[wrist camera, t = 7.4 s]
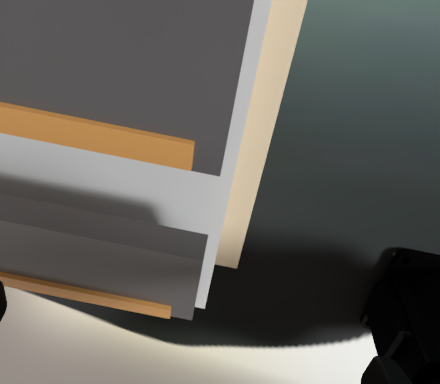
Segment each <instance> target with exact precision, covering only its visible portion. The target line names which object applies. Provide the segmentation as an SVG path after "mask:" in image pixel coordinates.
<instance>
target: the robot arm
mask: <svg viewBox="0 0 440 384" xmlns="http://www.w3.org/2000/svg"><path fill="white" fill-rule="evenodd" d="M405 257H408V258H407V259H404V260H402V259H403V258H405ZM6 308H7V301H6V296H5V291H4V285H3V283H2V281H0V321H1V319H2V317H3V315H4V314H5V311H6ZM364 308H365V310H364V311H363V313H362V315H361V317H360V321H361V324H362V326H363V327H364V328H368V329H371V333H372V336H373V339H374V343H375V347H376V350H377V354H378V356H376V357H374V358H373V359H372V361H371V362H370V364H369V365H368V367H367V368H366V370H365V372H364V373H363V375H362V378H361V384H440V256H436V255H431V254H426V253H421V252H416V251H411V250H400V251H398V252H397V253H396V254H395V256H394V257H393V259H392V261H391V263H390V265H389V266H388V268H387V270H386V272H385V274H384V275H383V277H382V278H381V279H380V280H379V281H378V283H377V284H376V286H375V288H374V290H373V292H372V293H371V295H370V297H369V299H368V301H367V302H366V304H365V306H364Z"/></svg>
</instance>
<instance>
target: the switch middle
mask: <svg viewBox="0 0 440 384" xmlns="http://www.w3.org/2000/svg"><path fill="white" fill-rule="evenodd" d="M253 4H254V0H0V133H3V134H8V135H13V136H18V137H23V138H28V139H33V140H38V141H43V142H48V143H53V144H58V145H63V146H68V147H73V148H78V149H83V150H88V151H93V152H98V153H103V154H108V155H113V156H118V157H123V158H128V159H133V160H138V161H143V162H148V163H153V164H158V165H163V166H168V167H173V168H178V169H183V170H188V171H194V172H199V173H204V174H209V175H214V176H219V177H220V174H221V169H222V165H223V160H224V155H225V150H226V145H227V139H228V134H229V129H230V124H231V119H232V113H233V108H234V103H235V98H236V93H237V87H238V82H239V77H240V72H241V67H242V62H243V56H244V51H245V46H246V41H247V36H248V30H249V25H250V20H251V15H252V10H253Z"/></svg>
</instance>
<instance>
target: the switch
mask: <svg viewBox="0 0 440 384" xmlns="http://www.w3.org/2000/svg"><path fill="white" fill-rule="evenodd" d="M207 239H208V235H207V234H202V233H197V232H192V231H187V230H182V229H177V228H172V227H167V226H162V225H157V224H152V223H147V222H142V221H137V220H132V219H127V218H122V217H117V216H112V215H107V214H102V213H97V212H92V211H87V210H82V209H77V208H72V207H67V206H62V205H58V204H53V203H48V202H43V201H38V200H33V199H28V198H23V197H18V196H13V195H8V194H3V193H0V281H2V283H3V285H4V286H8V287H12V288H17V289H22V290H27V291H32V292H37V293H42V294H47V295H52V296H57V297H62V298H67V299H72V300H77V301H82V302H87V303H92V304H97V305H102V306H107V307H112V308H117V309H122V310H127V311H132V312H137V313H142V314H147V315H152V316H157V317H162V318H167V319H170V316H172V317H177V318H182V319H187V320H192V318H193V313H194V308H195V303H196V298H197V292H198V287H199V282H200V276H201V271H202V266H203V260H204V255H205V250H206V245H207Z"/></svg>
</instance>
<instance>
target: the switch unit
mask: <svg viewBox="0 0 440 384" xmlns="http://www.w3.org/2000/svg"><path fill="white" fill-rule="evenodd" d="M307 1H308V0H254V4H253V10H252V15H251V20H250V25H249V30H248V36H247V41H246V46H245V51H244V56H243V62H242V67H241V72H240V77H239V82H238V87H237V93H236V98H235V103H234V108H233V113H232V119H231V124H230V129H229V134H228V139H227V145H226V150H225V155H224V160H223V165H222V169H221V174H220V177H219V176H214V175H209V174H204V173H199V172H194V171H188V170H183V169H178V168H173V167H168V166H163V165H158V164H153V163H148V162H143V161H138V160H133V159H128V158H123V157H118V156H113V155H108V154H103V153H98V152H93V151H88V150H83V149H78V148H73V147H68V146H63V145H58V144H53V143H48V142H43V141H38V140H33V139H28V138H23V137H18V136H13V135H8V134H3V133H0V193H3V194H8V195H13V196H18V197H23V198H28V199H33V200H38V201H43V202H48V203H53V204H58V205H62V206H67V207H72V208H77V209H82V210H87V211H92V212H97V213H102V214H107V215H112V216H117V217H122V218H127V219H132V220H137V221H142V222H147V223H152V224H157V225H162V226H167V227H172V228H177V229H182V230H187V231H192V232H197V233H202V234H207V235H208V239H207V245H206V250H205V255H204V260H203V266H202V271H201V276H200V282H199V287H198V292H197V298H196V303H195V307H198V308H203V309H205V306H206V301H207V296H208V292H209V287H210V283H211V278H212V273H213V269H214V264H216V265H221V266H226V267H231V268H236V269H237V266H238V262H239V259H240V255H241V251H242V247H243V243H244V240H245V236H246V232H247V228H248V224H249V221H250V217H251V213H252V209H253V205H254V202H255V198H256V194H257V190H258V186H259V183H260V179H261V175H262V171H263V168H264V164H265V160H266V156H267V152H268V149H269V145H270V141H271V137H272V133H273V130H274V126H275V122H276V118H277V114H278V111H279V107H280V103H281V99H282V95H283V92H284V88H285V84H286V80H287V76H288V73H289V69H290V65H291V61H292V57H293V54H294V50H295V46H296V42H297V39H298V35H299V31H300V27H301V23H302V20H303V16H304V12H305V8H306V4H307Z"/></svg>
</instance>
